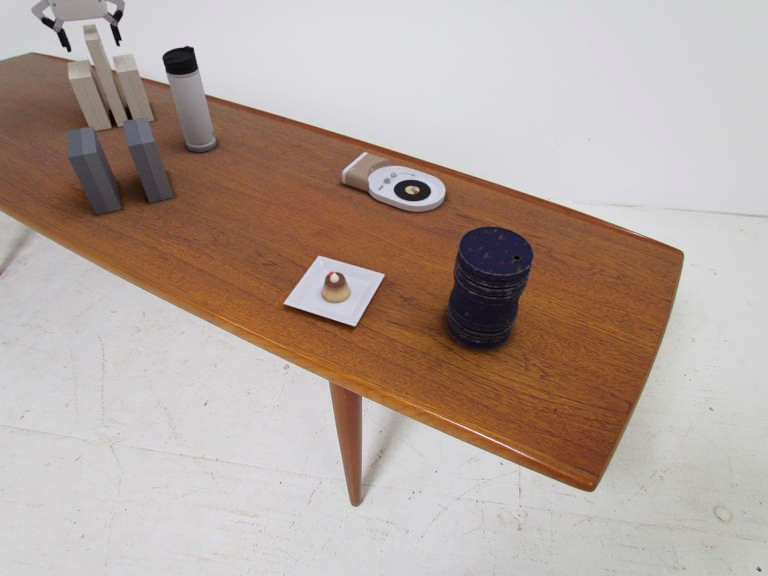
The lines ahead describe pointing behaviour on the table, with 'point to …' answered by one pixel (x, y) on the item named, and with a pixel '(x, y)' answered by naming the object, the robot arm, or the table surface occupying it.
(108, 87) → the cream book
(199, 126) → the travel mug
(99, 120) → the white books
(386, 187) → the record player
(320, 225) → the table surface
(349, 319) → the dessert
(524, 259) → the dark blue barrel
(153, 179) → the grey books
